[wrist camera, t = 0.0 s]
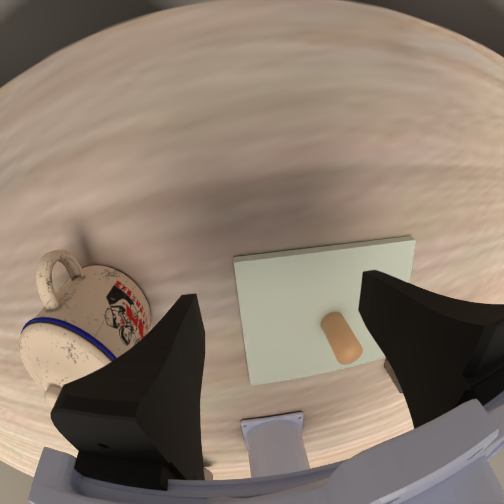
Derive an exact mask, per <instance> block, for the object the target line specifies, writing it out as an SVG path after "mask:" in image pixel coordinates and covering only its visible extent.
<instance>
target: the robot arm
mask: <svg viewBox="0 0 504 504" xmlns="http://www.w3.org/2000/svg"><path fill="white" fill-rule="evenodd" d="M358 311H359V313H360V315H361V318H362V320H363V322H364V324H365V326H366V328H367V329H368V331H369V332H370V334H371V335H372V337H373V339H374V340H375V342H376V343H377V345H378V346H379V348H380V349H381V351H382V352H383V354H384V355H385V357H386V358H387V360H388V362H389V363H390V365H391V367H392V369H393V371H394V373H395V375H396V377H397V379H398V382H399V384H400V386H401V389H402V391H403V394H404V396H405V399H406V402H407V405H408V408H409V411H410V414H411V417H412V421H413V425H414V429H413V430H411V431H409V432H406V433H404V434H402V435H399V436H397V437H394V438H392V439H389V440H387V441H384V442H382V443H380V444H378V445H376V446H373V447H371V448H369V449H366V450H364V451H362V452H360V453H358V454H357V455H355V456H353V457H352V458H350V459H346V460H343V461H339V462H336V463H332V464H328V465H324V466H320V467H316V468H311V469H310V466H309V462H308V458H307V454H306V450H305V447H304V443H303V439H302V426H303V417H304V415H303V412H297V413H291V414H285V415H279V416H273V417H266V418H258V419H250V420H242V421H241V422H240V423H241V428H242V432H243V436H244V440H245V444H246V447H247V451H248V454H249V463H250V471H251V478H245V479H232V480H205V476H204V468H203V457H202V445H201V427H200V394H201V385H202V376H203V368H204V359H205V330H204V326H203V322H202V317H201V313H200V308H199V304H198V299H197V295H196V294H188V295H182V296H181V297H180V298H179V299H178V300H177V301H176V303H175V304H174V305H173V306H172V307H171V309H170V310H169V311H168V312H167V313H166V314H165V316H164V317H163V318H162V319H161V320H160V321H159V322H158V323H157V324H156V325H155V326H154V328H153V329H152V330H151V331H150V332H149V333H148V334H147V335H146V336H145V337H143V338H142V339H141V340H140V341H139V342H138V343H137V344H135V345H134V346H133V347H132V348H130V349H129V350H128V351H126V352H125V353H124V354H122V355H121V356H119V357H118V358H116V359H115V360H113V361H112V362H110V363H109V364H107V365H105V366H104V367H102V368H100V369H98V370H96V371H94V372H92V373H90V374H88V375H86V376H84V377H82V378H79V379H77V380H74V381H72V382H70V383H67V384H64V385H63V387H62V389H61V391H60V393H59V396H58V398H57V400H56V402H55V404H54V407H53V409H52V411H51V419H52V422H53V424H54V426H55V427H56V428H57V429H58V431H59V432H60V433H61V434H62V435H63V436H64V437H65V438H66V439H67V440H68V441H69V442H70V443H71V444H72V445H73V446H74V447H75V448H76V449H77V450H78V451H79V452H78V455H77V458H76V457H74V456H72V455H70V454H67V453H65V452H61V451H58V450H55V449H51V448H48V447H44V449H43V451H42V454H41V457H40V460H39V463H38V466H37V470H36V473H35V476H34V480H33V483H32V487H31V491H30V494H29V498H28V501H29V502H30V503H31V504H504V490H503V488H502V486H501V484H500V482H499V480H498V478H497V477H496V475H495V473H494V471H493V469H492V468H491V466H490V464H489V462H488V461H487V460H488V459H490V458H491V457H492V456H493V455H494V454H496V453H497V452H498V451H499V450H500V449H501V448H502V447H504V304H483V303H475V302H468V301H463V300H458V299H454V298H450V297H446V296H443V295H439V294H436V293H433V292H430V291H428V290H425V289H422V288H420V287H417V286H415V285H412V284H410V283H408V282H405V281H403V280H401V279H398V278H396V277H393V276H391V275H389V274H386V273H383V272H381V271H377V270H369V271H363V273H362V282H361V291H360V299H359V307H358Z"/></svg>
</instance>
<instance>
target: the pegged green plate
mask: <svg viewBox="0 0 504 504" xmlns="http://www.w3.org/2000/svg"><path fill="white" fill-rule="evenodd" d="M415 243H416V239H414V238H412V237H411V236H406V237H397V238H389V239H381V240H373V241H364V242H356V243H348V244H340V245H331V246H323V247H315V248H306V249H298V250H289V251H281V252H272V253H264V254H255V255H247V256H238V257H233V259H234V268H235V276H236V284H237V291H238V299H239V307H240V314H241V321H242V329H243V336H244V343H245V350H246V357H247V364H248V371H249V378H250V384H251V386H252V385H260V384H267V383H274V382H281V381H287V380H293V379H298V378H304V377H309V376H314V375H319V374H324V373H328V372H333V371H337V370H341V369H345V368H349V367H353V366H357V365H361V364H365V363H368V362H372V361H375V360H379V359H382V358H386V357H385V355H384V354H383V352H382V351H381V349H380V348H379V346H378V345H377V343H376V342H375V340H374V339H373V337H372V335H371V334H370V332H369V331H368V329H367V328H366V326H365V324H364V322H363V320H362V318H361V315H360V313H359V311H358V307H359V299H360V291H361V282H362V273H363V271H369V270H377V271H381V272H383V273H386V274H389V275H391V276H393V277H396V278H398V279H401V280H403V281H405V282H408V283H409V281H410V275H411V270H412V264H413V257H414V250H415Z"/></svg>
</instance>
